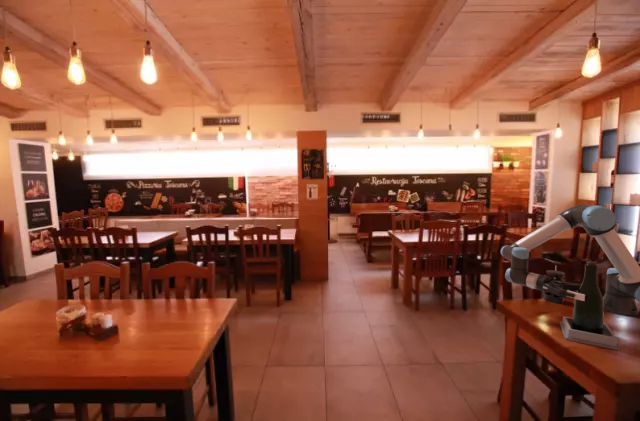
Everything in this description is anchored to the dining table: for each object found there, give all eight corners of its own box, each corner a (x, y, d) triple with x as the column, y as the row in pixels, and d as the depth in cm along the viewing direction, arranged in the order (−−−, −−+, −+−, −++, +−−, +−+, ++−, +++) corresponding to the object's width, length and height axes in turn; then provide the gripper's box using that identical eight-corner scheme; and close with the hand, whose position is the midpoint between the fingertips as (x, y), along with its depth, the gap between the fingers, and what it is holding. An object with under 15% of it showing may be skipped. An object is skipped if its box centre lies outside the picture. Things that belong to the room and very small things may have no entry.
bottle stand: (608, 332, 146) (608, 323, 145) (620, 350, 130) (621, 340, 130) (559, 323, 155) (560, 315, 154) (565, 339, 139) (566, 329, 139)
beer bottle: (608, 337, 138) (614, 263, 136) (589, 340, 136) (594, 265, 134) (584, 327, 149) (588, 258, 146) (566, 329, 146) (570, 259, 144)
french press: (540, 299, 186) (543, 261, 184) (544, 295, 193) (547, 259, 191) (565, 305, 178) (568, 265, 176) (568, 301, 184) (571, 262, 182)
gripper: (551, 285, 165) (602, 298, 147) (525, 293, 153) (577, 308, 134) (552, 271, 164) (603, 282, 146) (526, 278, 152) (579, 291, 134)
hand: (591, 295), depth 140 cm, fingers open, 13 cm apart
